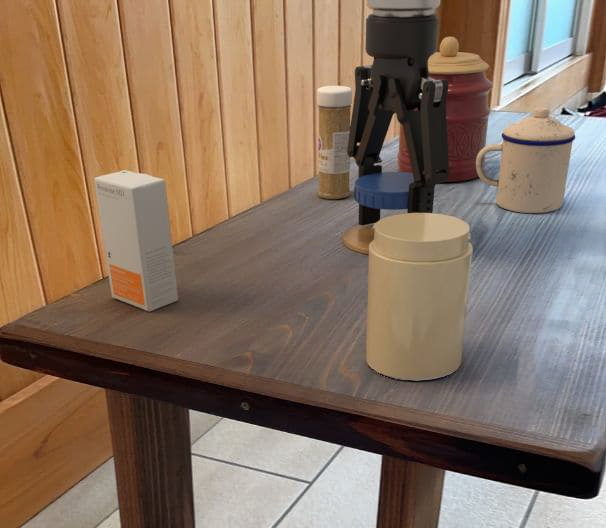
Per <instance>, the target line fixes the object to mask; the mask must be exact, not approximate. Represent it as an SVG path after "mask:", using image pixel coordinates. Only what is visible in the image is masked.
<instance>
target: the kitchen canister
mask: <svg viewBox="0 0 606 528" xmlns="http://www.w3.org/2000/svg"><path fill="white" fill-rule="evenodd" d="M459 49H460V45H459V41H458V39H457V38H456V37H454V36H446V37H444V38H443V39H442V40H441V42H440V44H439V51H438V52H437V51H436V52H435V53H434V54H433V55H432V56H430V58H429V59H428V70H429V74H430V77H431V78H433V79H435V80H441V79H446V80H447V81H448V84H449V85H448V93H447V100H446V118H447V137H448V155H449V174H450V176H449V180H448V181H446V182H445V183H454V182H456V183H457V182H464V181H469V180H473V179H477V178H478V177H479V175H478V173H477V169H476V159H477V156H478V153H479V152H480V151H481V150H482V149H483V148H484V147H486V146H487V138H488V137H487V136H488V126H489V116H490V114H491V109H490V107H489V93H490V91H491V90H492V89H493V88H494V84H493V82H492V81H491V80H490V79H488V78H487V75H486V71H487V70H489V68H490V65H489V63H487V62H485V60H483V59H482V58H481V56H480V55H479V54H477V53H471V52H461V51H459ZM414 111H417V108H416V109H415V110H414ZM398 135H399V139H398V152H397V155H396V156H397V160H396V163H397V168H398V169H397V170H398V171H397V172H407V173H412V169H411V164H410V159H409V154H408V149H407V145H406V140H405V135H404V130H403V126H402V124H401V123H399V134H398ZM486 157H487V156H486V154H485V155H484V156H483V158H482V160H481V168H482V171H483V170H484V167H485V165H486ZM437 171H439V170H437ZM483 172H484V171H483ZM423 174H425V171H423Z"/></svg>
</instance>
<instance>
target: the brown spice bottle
mask: <svg viewBox="0 0 606 528" xmlns="http://www.w3.org/2000/svg"><path fill="white" fill-rule="evenodd" d="M352 103H353V89H352V88H351V87H349V86H347V85H346V86H345V85H325V86H321V87H319V88H317V92H316V104H317V108H318V134H317V135H318V139H317V141H318V146H317V147H318V153H317V154H318V160H317V163H318V165H317V167H318V169H317V170H318V190H317V195H318V197H320V198H322V199H325V200H339V199H344V198H348V197H349V196H350V194H351V190H350V171H351V158H350V157H349V156H348V154H347V147H348V140H349V133H350V126H351V115H352V112H351V108H352Z"/></svg>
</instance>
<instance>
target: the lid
mask: <svg viewBox="0 0 606 528" xmlns="http://www.w3.org/2000/svg"><path fill="white" fill-rule="evenodd" d="M412 182H414V178H413V173H407V172H399V171H382V173H374V174H369V175H365V176H362V177H360V178H356V180H355V181H354V187H353V198H354V201H355V203H357V204H358V205H359V204H361V205H363V206H366V207H370V208H376V209H380V210H388V211H389V210H390V211H400V210H401V211H402V210H408V195H409V186H410V185H409V184H410V183H412Z"/></svg>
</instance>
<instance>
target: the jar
mask: <svg viewBox="0 0 606 528" xmlns="http://www.w3.org/2000/svg"><path fill="white" fill-rule="evenodd" d="M470 228H471V226H470V225H469V224H468V222H467V221H465V220H463V219H461V218H458V217H456V216H451V215H447V214H443V213H442V214H441V213H434V212H432V213H408V212H406V213H398V214H392V215H389V216H385V217H383V218H380V220H379V221H378V222H376V223H375V224H374V226H373V229H374V240H373V241H372V242H371V243H370V245H369V255H368V261H367V262H368V263H367V264H368V266H367V299H366V300H367V302H366V331H365V332H366V333H365V334H366V336H365V337H366V338H365V339H366V340H365V363H366V362H367V363H368V365H369V366H370V367H371V368H372V369H374V370H376V371H377V372H379V373H382V374H385V375H388V376H392V377H397V378H405V379H422V378H423V379H424V378H431V377H438V376H442V375H446V374H449V373H451V372H453V371H455V370H456V369H457V368H459V366H460V365H461V366H462V362H463V353H464V342H465V330H466V323H467V322H466V321H467V312H468V301H469V292H470V282H471V281H470V280H471V272H472V263H473V251H474V247H473V245H472V243H471V242H469V241H470V240H471V236H472V234H471V232H470V231H471V229H470ZM367 363H366V364H367ZM368 365H367V366H368ZM461 366H460V367H461ZM459 369H460V368H459Z"/></svg>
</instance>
